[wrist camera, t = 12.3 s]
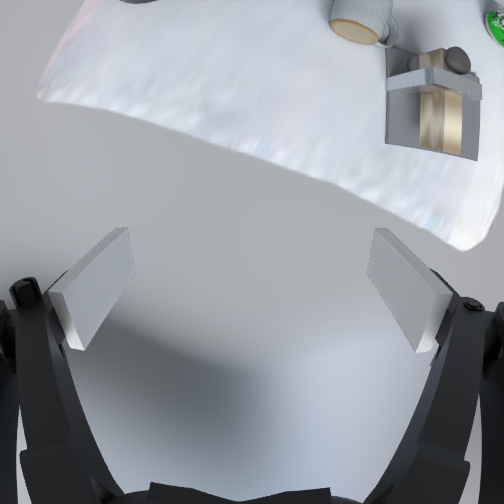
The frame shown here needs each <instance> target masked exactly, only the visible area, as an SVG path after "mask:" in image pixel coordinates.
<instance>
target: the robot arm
mask: <svg viewBox="0 0 504 504" xmlns="http://www.w3.org/2000/svg"><path fill="white" fill-rule="evenodd" d="M120 1H123V2H126V3H132V4H140V3H147V2H152V1H156V0H120ZM135 273H136V271H135V265H134V260H133V255H132V249H131V244H130V237H129V231H128V227H127V228H115V229H114V230H113V231H112V232H110V233H109V234H108V235H107V236H106V237H105V238H104V239H103V240H101V241H100V242H99V243H98V244H97V245H96V246H95V247H93V248H92V249H91V250H90V251H89V252H88V253H87V254H86V255H85V256H84V257H82V258H81V259H80V260H79V261H78V262H77V263H76V264H75V265H74V266H73V267H72V268H71V269H70V270H68V271H66V272H65V273H63V274H62V275H61V276H60V278H59V279H57V280H56V281H55V282H54V284H52V285H51V287H49V288H48V289H47V290H46V291H45V292H44V293H43V295H41V292H40V289H39V286H38V283H37V280H36V278H33V277H27V278H23V279H21V280H18V281H17V282H15V283H14V284H13V285H12V286H11V287H10V289H9V291H10V294H11V296H12V299H13V301H14V304H15V306H16V309H13V310H8V309H7V307H6V304H5V302H4V301H2V300H0V351H1V352H0V504H18V497H17V477H16V446H17V427H18V415H19V406H20V409H21V416H22V422H23V428H24V433H25V438H26V443H27V450H23V451H21V452H20V464H21V468H22V472H23V476H24V479H25V483H26V487H27V490H28V493H29V496H30V499H31V503H32V504H458V503H459V501H460V498H461V495H462V493H463V490H464V487H465V484H466V481H467V478H468V475H469V471H470V463H469V462H468V461H465V460H464V456H465V452H466V449H467V445H468V442H469V438H470V433H471V429H472V425H473V421H474V416H475V411H476V406H477V400H478V394H479V397H480V409H481V426H482V463H481V464H482V465H481V481H480V492H479V501H478V504H504V302H500V303H499V304H498V306H497V308H496V311H495V312H490V311H485V308H484V306H483V305H482V304H481V303H480V302H479V301H477V300H475V299H473V298H469V297H460V296H459V294H458V293H457V292H456V291H455V290H454V289H453V288H452V287H451V286H450V285H448V283H447V282H446V281H445V280H444V279H443V278H442V277H441V276H440V275H439V274H438V273H437V272H435V271H434V270H432V269H430V268H428V267H427V266H426V265H425V264H424V263H423V262H422V261H421V260H420V259H419V258H418V257H417V256H416V255H415V254H414V253H413V252H412V251H411V250H410V249H409V248H408V247H406V245H404V244H403V243H402V242H401V241H400V240H399V239H398V238H397V237H396V236H395V235H393V233H391V232H390V231H389V230H388V229H387V228H374V234H373V240H372V246H371V253H370V258H369V263H368V269H367V275H368V276H369V278H370V279H371V281H372V283H373V284H374V286H375V287H376V289H377V290H378V292H379V294H380V295H381V297H382V298H383V300H384V301H385V303H386V305H387V306H388V308H389V310H390V311H391V313H392V314H393V316H394V318H395V320H396V321H397V323H398V324H399V326H400V328H401V330H402V331H403V333H404V335H405V336H406V338H407V340H408V341H409V343H410V345H411V347H412V349H413V350H414V352H415V353H420V352H426V351H430V350H431V348H432V345H433V343H434V341H435V339H436V341H437V342H438V344H439V347H438V349H437V352H436V354H435V356H434V358H433V360H432V362H431V364H430V366H432V367H431V370H430V373H429V376H428V378H427V381H426V384H425V387H424V389H423V392H422V395H421V397H420V400H419V402H418V405H417V407H416V410H415V412H414V414H413V416H412V419H411V421H410V423H409V425H408V428H407V430H406V432H405V434H404V436H403V438H402V440H401V442H400V444H399V446H398V448H397V450H396V452H395V454H394V456H393V458H392V460H391V461H390V463H389V465H388V467H387V469H386V470H385V472H384V474H383V476H382V477H381V479H380V481H379V482H378V484H377V485H376V487H375V488H374V489H373V491H372V492H371V493H370V494H369V496H368V497H367V498H366V500H365V501H364V502H363V503H360V502H357V501H355V500H351V499H348V498H343V497H338V496H331V492H330V487H329V488H320V489H311V490H300V491H287V492H282V493H278V494H274V495H270V496H266V497H262V498H257V499H253V500H247V501H241V502H238V501H232V500H228V499H224V498H221V497H217V496H214V495H211V494H207V493H205V492H201V491H198V490H196V489H193V488H185V487H178V486H170V485H165V484H159V483H154V482H151V483H150V488H149V490H146V491H138V492H132V493H127V494H124V492H123V491H122V490H121V488H120V487H119V486H118V484H117V483H116V482H115V480H114V479H113V477H112V475H111V473H110V471H109V470H108V467H107V465H106V463H105V461H104V459H103V457H102V455H101V453H100V450H99V448H98V446H97V444H96V441H95V439H94V437H93V435H92V432H91V430H90V427H89V425H88V422H87V420H86V417H85V414H84V412H83V409H82V406H81V403H80V400H79V397H78V394H77V392H76V388H75V385H74V382H73V379H72V376H71V372H70V369H69V365H68V361H67V358H66V354H65V350H64V348H63V346H62V343H61V342H62V341H63V339H64V338H65V337H66V339H67V341H68V344H69V346H70V348H74V349H79V350H85V349H86V347H87V346H88V344H89V342H90V341H91V339H92V338H93V336H94V334H95V333H96V331H97V330H98V328H99V326H100V325H101V323H102V322H103V320H104V319H105V317H106V316H107V314H108V313H109V311H110V310H111V308H112V307H113V305H114V304H115V302H116V301H117V299H118V298H119V296H120V295H121V293H122V292H123V291H124V289H125V288H126V286H127V285H128V283H129V282H130V280H131V279H132V278H133V276H134V275H135Z"/></svg>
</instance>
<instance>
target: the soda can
mask: <svg viewBox="0 0 504 504" xmlns="http://www.w3.org/2000/svg"><path fill="white" fill-rule="evenodd" d="M485 26H486V29H487V32H488V34H489V35H490V37H491V38H492V39H493V40H494V41H495V42H496V43H497V44H498V45H500V46H501V47H503V48H504V9H501V10H497V11H493V12H490V13H488V14H486V17H485Z"/></svg>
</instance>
